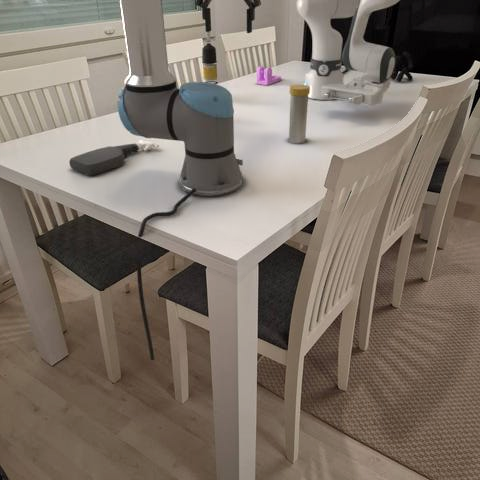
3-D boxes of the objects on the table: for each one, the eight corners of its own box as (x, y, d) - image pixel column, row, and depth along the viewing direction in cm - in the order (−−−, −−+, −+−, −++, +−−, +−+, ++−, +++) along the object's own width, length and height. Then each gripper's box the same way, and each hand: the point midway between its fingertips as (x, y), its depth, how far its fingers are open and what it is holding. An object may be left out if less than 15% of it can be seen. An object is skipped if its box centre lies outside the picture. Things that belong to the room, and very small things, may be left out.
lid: (309, 91, 130) (309, 84, 129) (309, 96, 125) (309, 89, 124) (289, 90, 131) (290, 84, 130) (289, 95, 126) (289, 89, 125)
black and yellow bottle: (220, 99, 177) (217, 15, 161) (206, 100, 176) (202, 16, 160) (215, 96, 182) (212, 14, 166) (202, 97, 180) (197, 14, 164)
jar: (305, 138, 137) (308, 86, 129) (305, 143, 133) (308, 90, 125) (289, 137, 138) (291, 86, 130) (288, 143, 134) (290, 90, 126)
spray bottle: (67, 168, 120) (139, 144, 136) (91, 178, 114) (163, 151, 130) (65, 157, 118) (137, 134, 134) (89, 167, 112) (162, 142, 128)
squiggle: (400, 92, 202) (376, 71, 205) (417, 76, 202) (392, 56, 205) (405, 81, 191) (380, 59, 194) (423, 64, 191) (397, 42, 194)
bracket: (267, 85, 196) (267, 68, 192) (256, 83, 199) (256, 67, 195) (282, 79, 205) (283, 63, 201) (272, 78, 208) (273, 62, 204)
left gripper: (272, -51, 127) (270, 31, 138) (192, -49, 134) (197, 29, 145) (264, -51, 121) (263, 34, 132) (181, -49, 128) (187, 32, 139)
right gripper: (334, 77, 157) (311, 84, 149) (388, 84, 145) (367, 92, 137) (332, 95, 161) (310, 103, 152) (385, 104, 149) (364, 113, 140)
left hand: (228, 32), depth 139 cm, fingers open, 13 cm apart
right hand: (338, 98), depth 144 cm, fingers open, 8 cm apart
